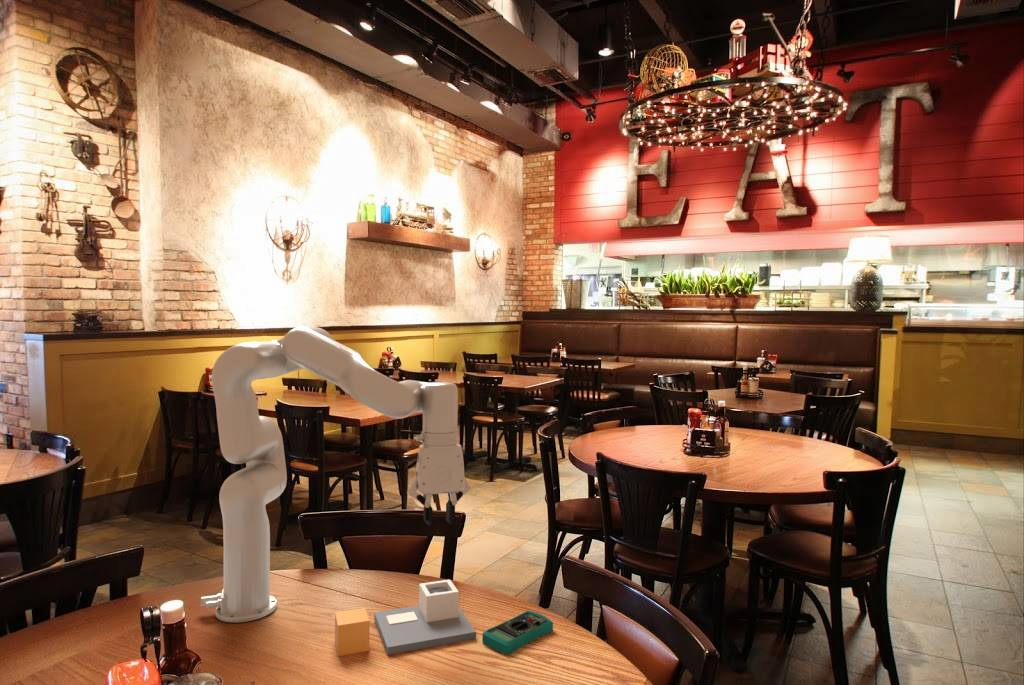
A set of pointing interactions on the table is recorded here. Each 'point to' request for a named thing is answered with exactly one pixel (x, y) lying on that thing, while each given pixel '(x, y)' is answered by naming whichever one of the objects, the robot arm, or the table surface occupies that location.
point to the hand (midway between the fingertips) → (439, 522)
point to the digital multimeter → (517, 632)
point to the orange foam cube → (351, 631)
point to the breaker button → (437, 590)
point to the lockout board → (425, 621)
